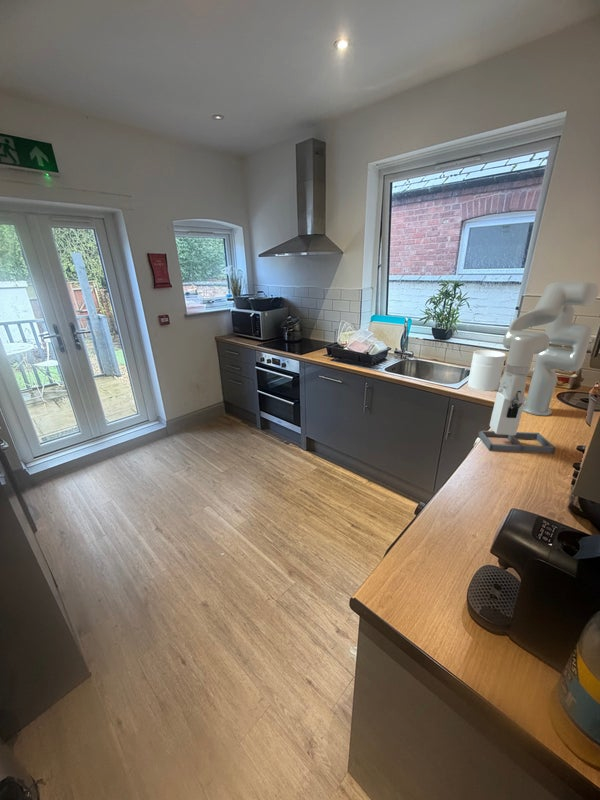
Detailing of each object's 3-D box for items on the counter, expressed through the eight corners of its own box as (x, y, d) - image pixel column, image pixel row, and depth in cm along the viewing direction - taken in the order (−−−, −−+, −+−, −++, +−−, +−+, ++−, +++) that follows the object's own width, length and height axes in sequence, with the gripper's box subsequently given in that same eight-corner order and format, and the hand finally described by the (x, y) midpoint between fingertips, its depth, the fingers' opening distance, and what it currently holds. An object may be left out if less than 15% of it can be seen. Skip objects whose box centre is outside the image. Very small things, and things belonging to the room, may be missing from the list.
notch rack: (477, 435, 137) (478, 430, 136) (537, 438, 134) (538, 432, 133) (489, 450, 126) (490, 444, 125) (554, 453, 123) (555, 447, 122)
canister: (499, 384, 194) (506, 351, 186) (497, 393, 181) (505, 358, 174) (469, 380, 202) (475, 348, 194) (465, 388, 189) (472, 354, 182)
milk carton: (515, 435, 125) (528, 389, 118) (495, 434, 126) (506, 388, 119) (508, 427, 131) (519, 382, 124) (489, 426, 132) (499, 382, 125)
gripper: (496, 362, 127) (487, 404, 134) (517, 376, 112) (506, 422, 118) (516, 362, 127) (506, 404, 133) (541, 376, 111) (528, 423, 117)
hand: (506, 412), depth 126 cm, fingers closed on milk carton, 7 cm apart
